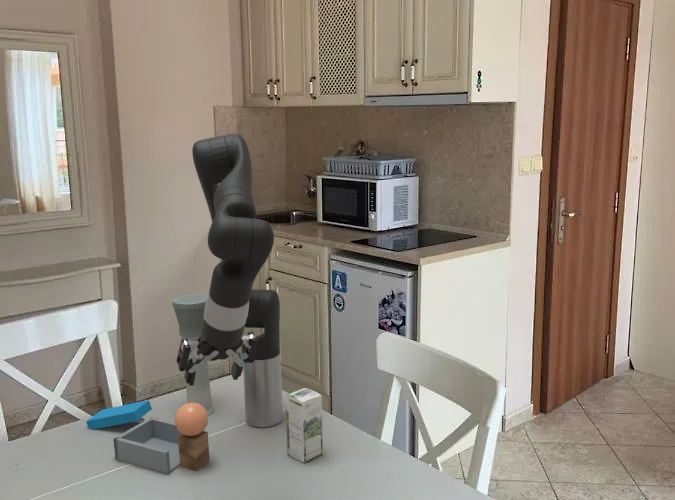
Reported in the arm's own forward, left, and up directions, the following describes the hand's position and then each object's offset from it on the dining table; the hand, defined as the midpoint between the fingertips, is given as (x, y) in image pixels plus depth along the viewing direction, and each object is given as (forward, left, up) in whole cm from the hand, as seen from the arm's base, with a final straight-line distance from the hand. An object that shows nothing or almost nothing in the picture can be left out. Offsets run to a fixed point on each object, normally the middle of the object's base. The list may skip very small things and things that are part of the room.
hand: (212, 379), depth 128 cm
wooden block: (-12, -12, -26) cm, 31 cm away
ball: (-12, -12, -15) cm, 23 cm away
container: (-36, -24, -26) cm, 50 cm away
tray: (-14, -22, -26) cm, 36 cm away
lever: (-24, -37, -26) cm, 52 cm away
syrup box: (-22, +10, -26) cm, 35 cm away
